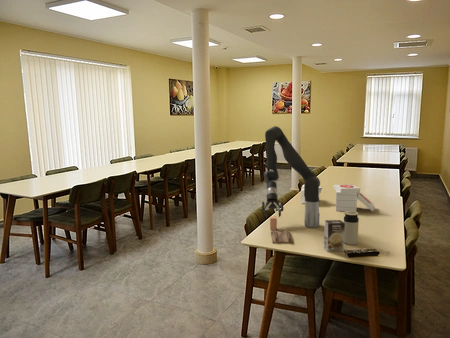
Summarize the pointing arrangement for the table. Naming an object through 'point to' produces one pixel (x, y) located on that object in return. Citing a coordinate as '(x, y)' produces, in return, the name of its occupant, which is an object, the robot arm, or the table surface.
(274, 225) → the terracotta block
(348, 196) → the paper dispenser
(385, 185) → the table surface
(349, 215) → the travel mug
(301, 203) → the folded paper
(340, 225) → the coffee box
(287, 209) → the table surface
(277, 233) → the walnut rack
